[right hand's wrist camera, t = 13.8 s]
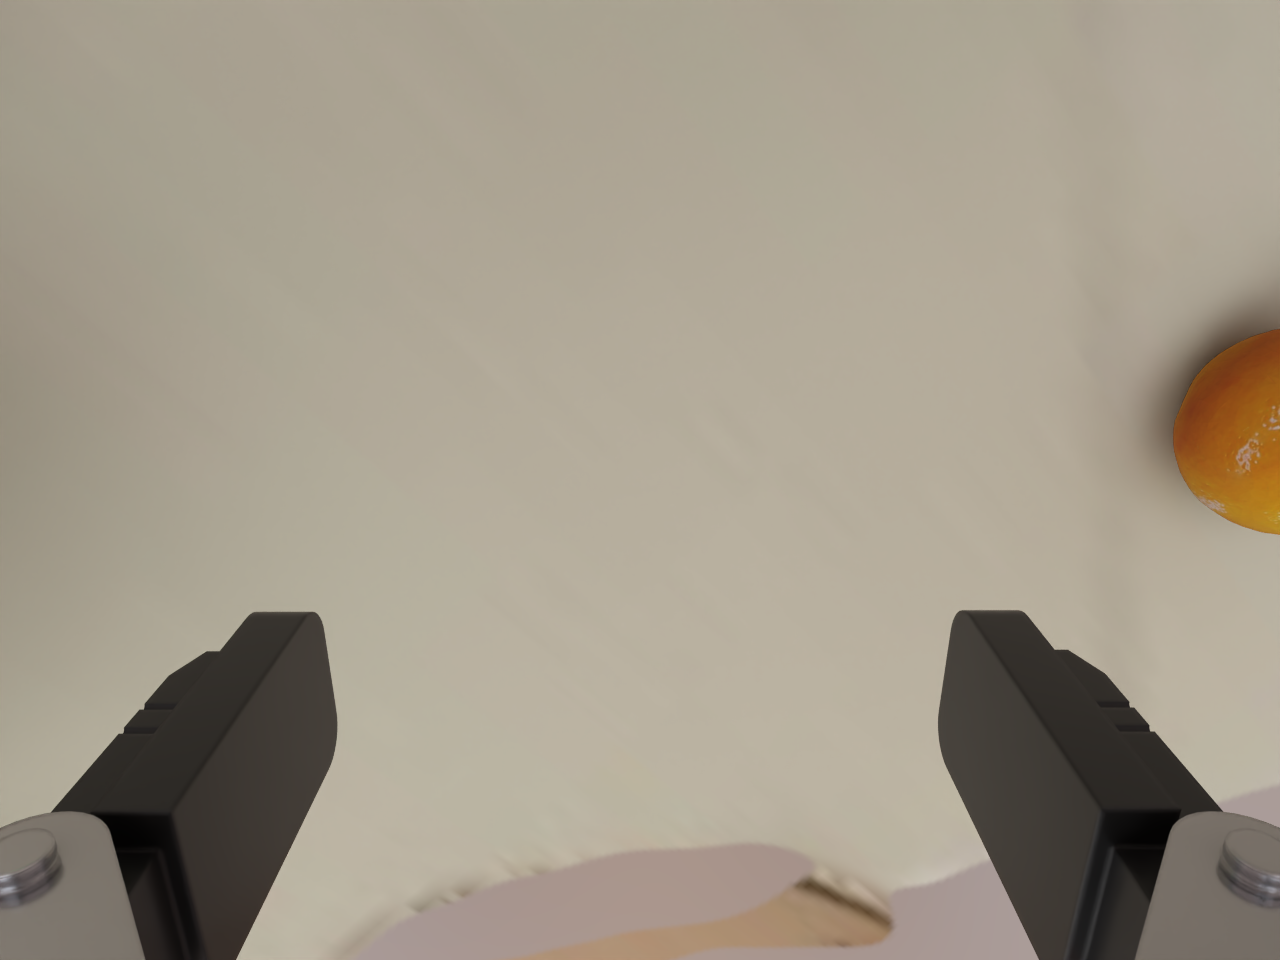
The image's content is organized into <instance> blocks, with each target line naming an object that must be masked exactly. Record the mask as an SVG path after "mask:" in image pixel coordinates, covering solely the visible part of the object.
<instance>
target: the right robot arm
mask: <svg viewBox="0 0 1280 960" xmlns="http://www.w3.org/2000/svg"><path fill="white" fill-rule="evenodd" d="M938 733H939V742H940V748H941V752H942V756H943V759H944V762H945V765H946V767H947V769H948V771H949V773H950V775H951V778H952V780H953V782H954V784H955V786H956V788H957V790H958V792H959V794H960V796H961V798H962V800H963V802H964V805H965V807H966V809H967V811H968V813H969V815H970V817H971V819H972V821H973V823H974V825H975V827H976V829H977V832H978V834H979V836H980V838H981V840H982V842H983V844H984V846H985V848H986V850H987V852H988V854H989V857H990V859H991V861H992V863H993V865H994V867H995V869H996V871H997V873H998V875H999V877H1000V879H1001V881H1002V884H1003V886H1004V888H1005V890H1006V892H1007V894H1008V896H1009V898H1010V900H1011V902H1012V904H1013V906H1014V908H1015V911H1016V913H1017V915H1018V917H1019V919H1020V921H1021V923H1022V925H1023V927H1024V929H1025V931H1026V933H1027V935H1028V938H1029V940H1030V942H1031V944H1032V946H1033V948H1034V950H1035V952H1036V954H1037V956H1038V958H1039V960H1280V828H1279V827H1276V826H1274V825H1271V824H1269V823H1266V822H1264V821H1260V820H1258V819H1254V818H1251V817H1248V816H1243V815H1239V814H1235V813H1227V812H1223V811H1222V810H1221V809H1220V807H1219V806H1218V805H1217V804H1216V803H1215V802H1214V800H1213V799H1212V798H1211V797H1210V796H1209V795H1208V793H1207V792H1206V791H1205V790H1204V789H1203V788H1202V786H1201V785H1200V784H1199V783H1198V782H1197V781H1196V779H1195V778H1194V777H1193V776H1192V775H1191V773H1190V772H1189V771H1188V770H1187V769H1186V768H1185V766H1184V765H1183V764H1182V763H1181V762H1180V761H1179V759H1178V758H1177V757H1176V756H1175V755H1174V754H1173V752H1172V751H1171V750H1170V749H1169V748H1168V747H1167V745H1166V744H1165V743H1164V742H1163V741H1162V740H1161V738H1160V737H1159V736H1158V735H1157V734H1156V733H1155V732H1150V729H1149V724H1148V723H1147V722H1146V721H1145V720H1144V719H1143V717H1142V716H1141V715H1140V714H1139V713H1138V712H1137V710H1136V709H1135V708H1130V706H1129V701H1128V700H1127V699H1126V698H1125V696H1124V695H1123V694H1122V693H1121V692H1120V691H1119V689H1118V688H1117V687H1116V686H1115V685H1114V684H1113V682H1112V681H1111V680H1110V679H1109V678H1108V676H1107V675H1106V674H1105V673H1103V672H1102V671H1100V670H1098V669H1097V668H1095V667H1094V666H1092V665H1091V664H1089V663H1088V662H1086V661H1084V660H1083V659H1081V658H1080V657H1078V656H1077V655H1075V654H1074V653H1072V652H1070V651H1069V650H1054V648H1053V647H1052V646H1051V645H1050V643H1049V642H1048V641H1047V640H1046V638H1045V637H1044V636H1043V635H1042V633H1041V632H1040V631H1039V630H1038V628H1037V627H1036V626H1035V625H1034V623H1033V622H1032V621H1031V620H1030V618H1029V617H1028V616H1027V615H1026V614H1025V613H1024V612H1022V611H1019V610H962V611H959V612H958V613H957V614H956V616H955V618H954V620H953V623H952V627H951V633H950V640H949V647H948V653H947V660H946V667H945V674H944V680H943V687H942V694H941V700H940V707H939V715H938ZM336 739H337V713H336V706H335V699H334V693H333V686H332V679H331V673H330V666H329V660H328V653H327V646H326V640H325V633H324V628H323V624H322V621H321V619H320V617H319V615H318V614H317V613H315V612H253V613H252V614H250V615H249V616H248V617H247V618H246V619H245V621H244V622H243V623H242V624H241V626H240V627H239V628H238V629H237V631H236V632H235V633H234V634H233V636H232V637H231V638H230V639H229V641H228V642H227V643H226V644H225V646H224V647H223V648H222V649H221V650H220V651H207V652H205V653H204V654H202V655H200V656H199V657H197V658H196V659H194V660H193V661H191V662H190V663H188V664H186V665H185V666H183V667H182V668H180V669H179V670H177V671H175V672H174V673H172V674H171V675H169V676H168V677H167V679H166V680H165V681H164V682H163V683H162V684H161V685H160V687H159V688H158V689H157V690H156V691H155V692H154V694H153V695H152V696H151V697H150V698H149V699H148V701H147V702H146V703H145V707H144V710H139V711H138V712H137V713H136V714H135V716H134V717H133V718H132V719H131V720H130V721H129V723H128V724H127V725H126V726H125V727H124V733H123V734H118V735H117V736H116V738H115V739H114V740H113V741H112V742H111V743H110V745H109V746H108V747H107V748H106V749H105V750H104V751H103V753H102V754H101V755H100V756H99V757H98V758H97V760H96V761H95V762H94V763H93V764H92V765H91V767H90V768H89V769H88V770H87V771H86V772H85V773H84V775H83V776H82V777H81V778H80V779H79V780H78V782H77V783H76V784H75V785H74V786H73V787H72V789H71V790H70V791H69V792H68V793H67V794H66V795H65V797H64V798H63V799H62V800H61V801H60V802H59V804H58V805H57V806H56V807H55V808H54V809H53V811H52V812H51V813H45V814H41V815H37V816H32V817H29V818H26V819H22V820H19V821H16V822H13V823H11V824H9V825H6V826H4V827H1V828H0V960H236V959H237V956H238V954H239V952H240V950H241V948H242V946H243V944H244V942H245V940H246V938H247V936H248V934H249V932H250V930H251V928H252V926H253V924H254V922H255V920H256V917H257V915H258V913H259V911H260V909H261V907H262V905H263V903H264V901H265V899H266V897H267V895H268V893H269V891H270V889H271V887H272V885H273V883H274V881H275V878H276V876H277V874H278V872H279V870H280V868H281V866H282V864H283V862H284V860H285V858H286V856H287V854H288V852H289V850H290V848H291V846H292V844H293V842H294V839H295V837H296V835H297V833H298V831H299V829H300V827H301V825H302V823H303V821H304V819H305V817H306V815H307V813H308V811H309V809H310V807H311V805H312V803H313V800H314V798H315V796H316V794H317V792H318V790H319V788H320V786H321V784H322V782H323V780H324V778H325V776H326V774H327V772H328V770H329V767H330V765H331V762H332V759H333V756H334V752H335V746H336Z"/></svg>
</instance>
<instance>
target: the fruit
mask: <svg viewBox="0 0 1280 960" xmlns="http://www.w3.org/2000/svg"><path fill="white" fill-rule="evenodd" d="M1173 441H1174V452H1175V456H1176V460H1177V463H1178V466H1179V470H1180V472H1181V474H1182V476H1183V478H1184V480H1185V482H1186V483H1187V485H1188V487H1189V488H1190V490H1191V491H1192V492H1193V494H1194V495H1195V496H1196V497H1197V498H1198V499H1199V500H1200V501H1201V502H1202V503H1203V504H1205V505H1206V506H1207V507H1209V508H1210V509H1211V510H1213V511H1214V512H1216V513H1217V514H1219V515H1221V516H1222V517H1224V518H1225V519H1227V520H1229V521H1231V522H1233V523H1236V524H1238V525H1240V526H1243V527H1246V528H1250V529H1253V530H1256V531H1260V532H1264V533H1271V534H1278V535H1280V329H1276V330H1272V331H1269V332H1266V333H1262V334H1258V335H1255V336H1252V337H1250V338H1248V339H1246V340H1243V341H1241V342H1239V343H1237V344H1235V345H1233V346H1231V347H1230V348H1228V349H1226V350H1225V351H1223V352H1221V353H1220V354H1219V355H1217V356H1216V357H1215V358H1214V359H1212V360H1211V361H1210V362H1209V363H1208V364H1206V365H1205V366H1204V368H1203V369H1202V370H1201V371H1200V372H1199V374H1198V375H1197V376H1196V377H1195V379H1194V380H1193V382H1192V384H1191V386H1190V388H1189V389H1188V392H1187V394H1186V396H1185V398H1184V400H1183V403H1182V405H1181V408H1180V410H1179V412H1178V415H1177V417H1176V420H1175V424H1174V433H1173Z"/></svg>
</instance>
